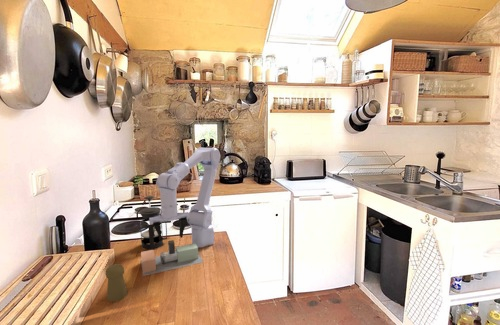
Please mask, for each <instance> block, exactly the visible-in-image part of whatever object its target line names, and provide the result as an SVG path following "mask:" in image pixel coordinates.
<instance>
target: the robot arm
mask: <svg viewBox="0 0 500 325" xmlns="http://www.w3.org/2000/svg"><path fill="white" fill-rule="evenodd" d="M220 160H221V153H220V150H219V149H218V148H216V147H214V148H213V147H202V146H200V147H197V149H194V153H193V154H191V155H190V157H188V158H187V159H186V160H185V161H184V162H181V161H180V162H176V163H175V165H174V166H173V167H172V168H169V169H168V170H167V171H166V172H163V173H160V174H158V176H157V178H156V181H155V184H156V186H157V188H158V192H159V193H160V194H159V195H160V209H161V214H160V215H159V216H156V217H152V218H149V220H150V223H149V225H151V224H153V226H154V229H155V230H156V231H157V233H158V235H159V240H160V241H162V233H161V231H162V229H161V225H160V222H162V223H164V222H165V221H166V222H173V221H176V220H177V221H178V223H179V237H180V238H183V236H184V231H185V227H186V225H187V224H189V226H190V227H191V244H194V243H196V245H197V247H198V248H205V247H207V246H211V245H214V244H215V231H214V226H213V224H212V221H213V216H212V215H213V210H212V209H211V207H209V205H210V201H211V196H212V193H213V188H214V184H215V180H216V175H217V171H218V168H219V163H220ZM198 164H200V166H201V167H202V168H204V169H203V170H204V172H203V175H202V180H201V184H200V186H199V187H200V188H199V191H198V195H197V196H198V197H197V200H196V203H195V204H194V205H192V206H191V207H190V209H189V211H187V212H185V211H184V212H178V203H177V202H178V200H177V189H178V187H179V185H180V182H181V181H182V180H183V179H185V177H187V176H188V175H189V174H190V170H191V169H193V168H194V167H195V166H197V165H198Z"/></svg>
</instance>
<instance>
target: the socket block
mask: <svg viewBox="0 0 500 325" xmlns="http://www.w3.org/2000/svg"><path fill="white" fill-rule="evenodd" d="M140 256H141V257H140V258H141V259H140V260H142V266H141V269H142V268H143V273H145V272H150V271H154V270H156V260H155V257H156V255H155V251H154V249H151V250H145V251H141V252H140Z"/></svg>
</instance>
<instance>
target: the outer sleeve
mask: <svg viewBox="0 0 500 325" xmlns="http://www.w3.org/2000/svg"><path fill="white" fill-rule="evenodd" d="M175 250H177V256H178V260H177V261H178V262H183V261H187V260H192V259H196V258H198V253H199V247H197V245H196V243H194V244H192V243H190V244H184V245H179V246H175Z"/></svg>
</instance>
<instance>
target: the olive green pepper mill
mask: <svg viewBox="0 0 500 325" xmlns="http://www.w3.org/2000/svg"><path fill="white" fill-rule="evenodd" d="M124 273H125V268H124V266H123V265H122V264H120V263H115V264H111V265H108V267H107V268H106V270H105V277H106V278H107V291H106V300H107V301H108V302H110V303H115V302H119V301H121V300H123V299H125V298H126V297H127V295H128V290H127V287H126V283H125V279H124V276H123V275H124Z"/></svg>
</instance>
